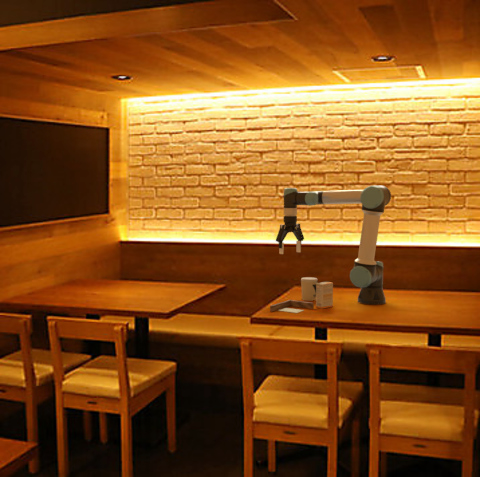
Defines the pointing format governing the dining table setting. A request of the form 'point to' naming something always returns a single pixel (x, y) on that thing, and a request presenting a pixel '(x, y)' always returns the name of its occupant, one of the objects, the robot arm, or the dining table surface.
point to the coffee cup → (308, 288)
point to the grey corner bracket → (291, 303)
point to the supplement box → (324, 294)
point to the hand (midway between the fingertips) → (290, 253)
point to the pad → (290, 310)
